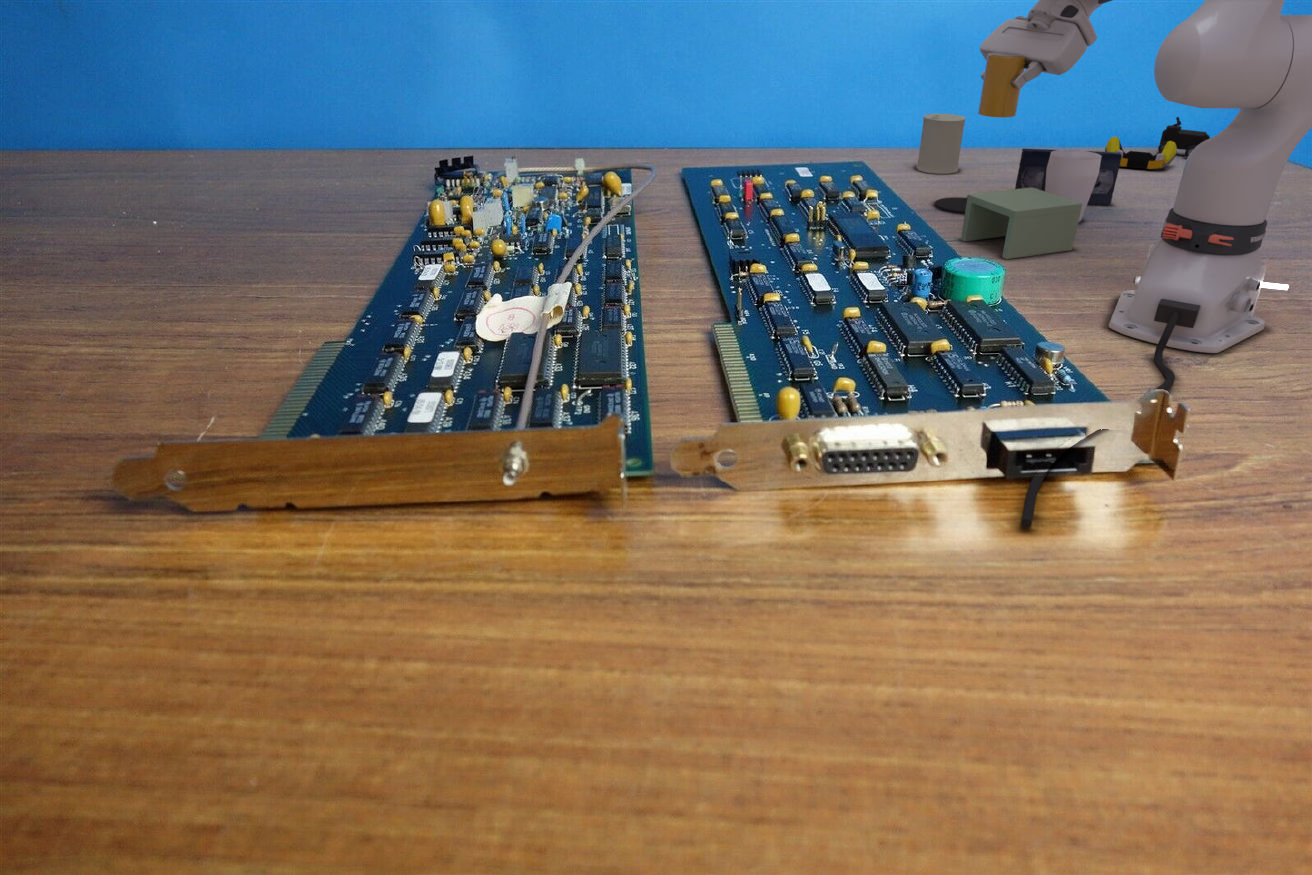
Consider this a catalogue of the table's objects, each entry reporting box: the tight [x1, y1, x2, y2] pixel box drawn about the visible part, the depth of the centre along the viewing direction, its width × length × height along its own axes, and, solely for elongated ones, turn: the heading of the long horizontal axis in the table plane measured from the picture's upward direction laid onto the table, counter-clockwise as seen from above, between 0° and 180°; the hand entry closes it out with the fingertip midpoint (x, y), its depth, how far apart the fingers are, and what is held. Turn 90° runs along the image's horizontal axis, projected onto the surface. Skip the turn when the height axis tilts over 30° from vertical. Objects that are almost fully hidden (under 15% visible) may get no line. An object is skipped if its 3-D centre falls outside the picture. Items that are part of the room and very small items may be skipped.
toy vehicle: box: [1157, 116, 1211, 159], centre depth 225 cm, size 8×15×9 cm, turn 54°
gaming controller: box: [1104, 136, 1178, 170], centre depth 216 cm, size 15×6×10 cm
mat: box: [934, 196, 968, 215], centre depth 184 cm, size 11×11×1 cm
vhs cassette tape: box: [1014, 148, 1122, 206], centre depth 186 cm, size 18×3×10 cm, turn 76°
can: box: [916, 113, 967, 175], centre depth 211 cm, size 9×9×12 cm
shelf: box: [960, 187, 1082, 260], centre depth 160 cm, size 14×12×8 cm
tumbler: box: [977, 53, 1026, 119], centre depth 166 cm, size 6×6×10 cm
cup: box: [1045, 149, 1101, 223], centre depth 174 cm, size 9×9×12 cm
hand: (999, 83), depth 165 cm, fingers closed on tumbler, 6 cm apart
